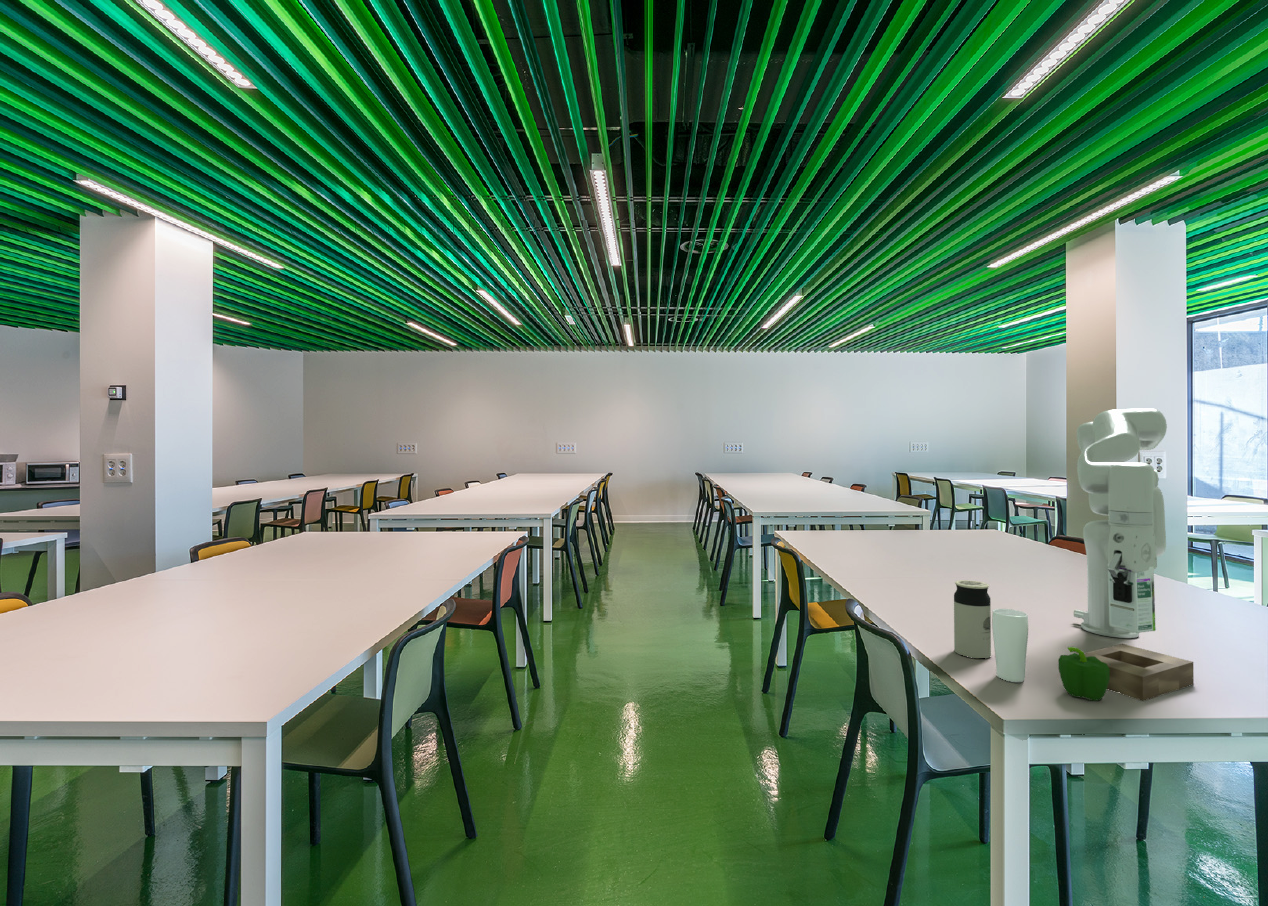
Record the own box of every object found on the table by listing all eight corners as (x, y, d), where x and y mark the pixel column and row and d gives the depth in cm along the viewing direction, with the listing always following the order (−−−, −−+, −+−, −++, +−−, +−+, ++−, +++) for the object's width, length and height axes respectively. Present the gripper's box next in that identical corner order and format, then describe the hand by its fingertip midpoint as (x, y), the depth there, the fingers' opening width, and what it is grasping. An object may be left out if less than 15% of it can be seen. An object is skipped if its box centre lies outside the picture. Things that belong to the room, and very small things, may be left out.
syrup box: (1137, 634, 121) (1136, 567, 121) (1107, 626, 127) (1107, 562, 127) (1156, 631, 123) (1155, 565, 123) (1126, 623, 128) (1125, 560, 128)
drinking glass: (994, 670, 131) (994, 606, 131) (1029, 677, 127) (1029, 611, 127) (990, 679, 126) (990, 613, 126) (1027, 687, 122) (1026, 618, 122)
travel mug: (947, 651, 145) (946, 581, 145) (969, 647, 147) (968, 578, 147) (975, 661, 137) (975, 588, 137) (998, 657, 140) (997, 585, 140)
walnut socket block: (1072, 678, 127) (1072, 656, 127) (1122, 664, 135) (1122, 643, 135) (1143, 701, 115) (1142, 676, 115) (1193, 684, 123) (1193, 661, 123)
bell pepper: (1110, 695, 118) (1110, 647, 118) (1109, 708, 112) (1108, 658, 112) (1060, 684, 123) (1060, 639, 124) (1056, 696, 117) (1056, 648, 117)
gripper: (1129, 523, 118) (1129, 608, 118) (1172, 519, 125) (1173, 599, 125) (1088, 519, 125) (1089, 600, 125) (1131, 515, 132) (1132, 592, 132)
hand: (1131, 599), depth 125 cm, fingers closed on syrup box, 6 cm apart
